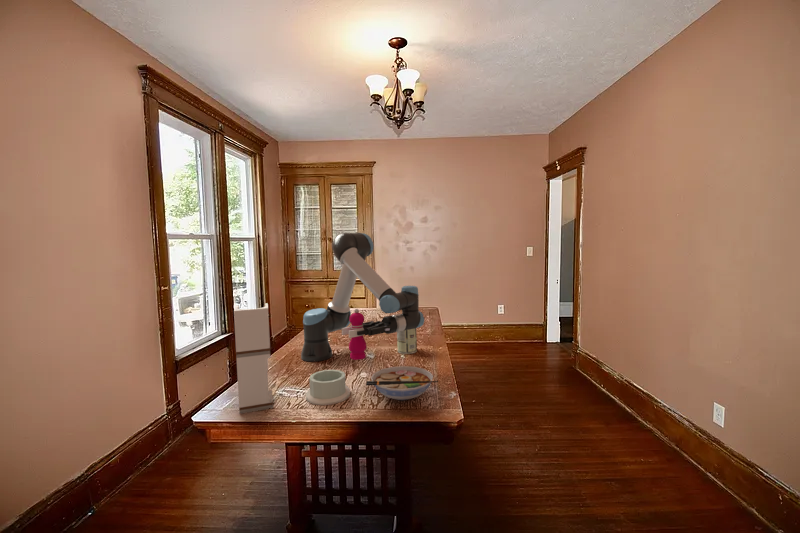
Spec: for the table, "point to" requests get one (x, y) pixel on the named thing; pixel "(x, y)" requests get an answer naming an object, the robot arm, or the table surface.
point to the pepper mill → (357, 343)
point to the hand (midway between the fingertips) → (345, 332)
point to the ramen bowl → (401, 382)
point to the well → (327, 388)
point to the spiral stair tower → (252, 358)
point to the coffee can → (407, 341)
